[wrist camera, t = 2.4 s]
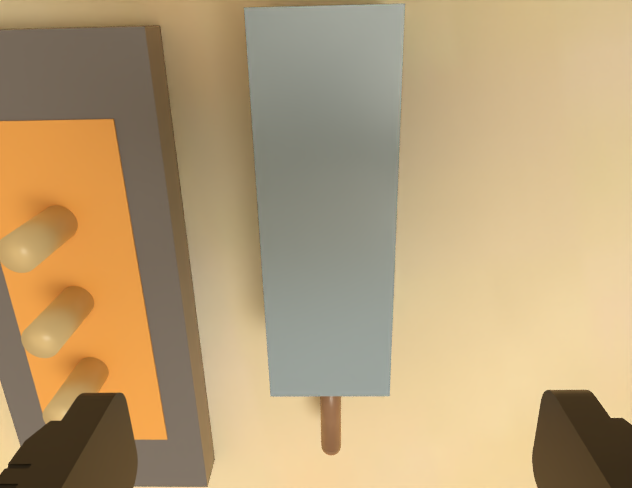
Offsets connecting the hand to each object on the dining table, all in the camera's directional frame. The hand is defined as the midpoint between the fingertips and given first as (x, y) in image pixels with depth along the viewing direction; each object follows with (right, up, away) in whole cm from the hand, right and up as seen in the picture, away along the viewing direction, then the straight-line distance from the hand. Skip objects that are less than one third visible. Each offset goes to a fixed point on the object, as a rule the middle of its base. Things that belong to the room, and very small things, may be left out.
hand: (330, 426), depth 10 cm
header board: (-12, +2, +17) cm, 21 cm away
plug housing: (0, +4, +16) cm, 16 cm away
